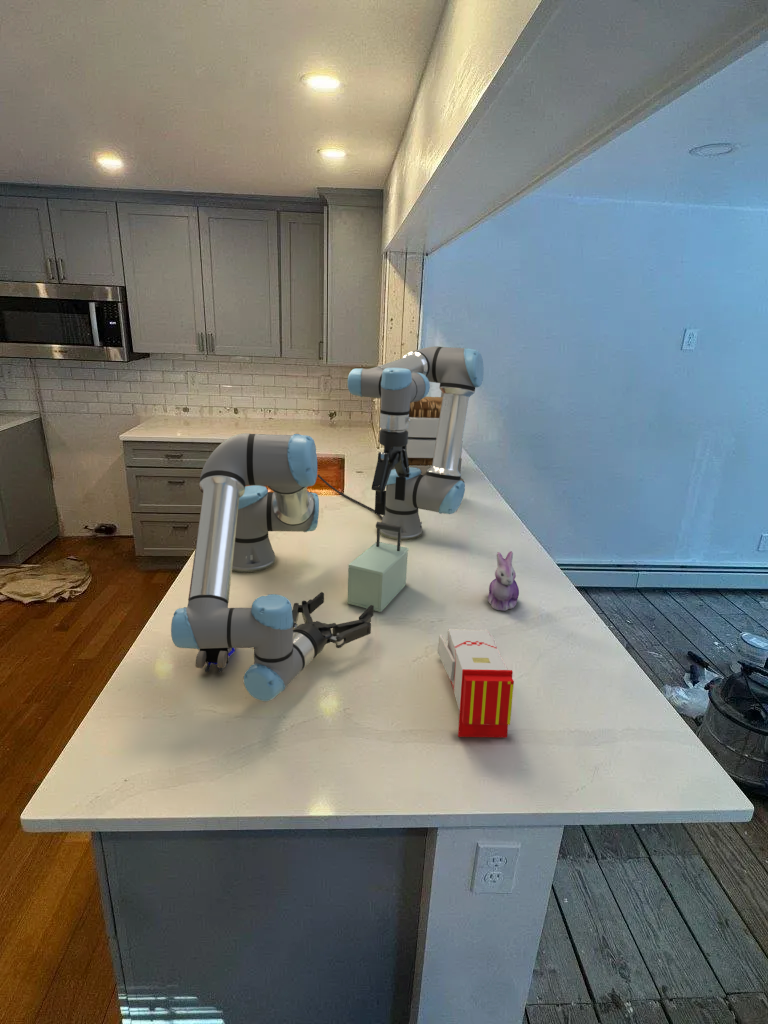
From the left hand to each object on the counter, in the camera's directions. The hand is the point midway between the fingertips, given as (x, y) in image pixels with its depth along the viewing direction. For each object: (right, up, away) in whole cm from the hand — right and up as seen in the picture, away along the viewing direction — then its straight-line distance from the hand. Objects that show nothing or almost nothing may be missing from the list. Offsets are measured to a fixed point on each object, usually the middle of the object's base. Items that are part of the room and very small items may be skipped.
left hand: (346, 603), depth 139 cm
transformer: (+26, +41, +136) cm, 145 cm away
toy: (+27, -15, -20) cm, 37 cm away
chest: (+7, 0, +19) cm, 20 cm away
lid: (+8, +10, +15) cm, 20 cm away
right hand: (+11, +24, +16) cm, 31 cm away
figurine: (+42, -3, +17) cm, 45 cm away
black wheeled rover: (-27, -10, -13) cm, 32 cm away
